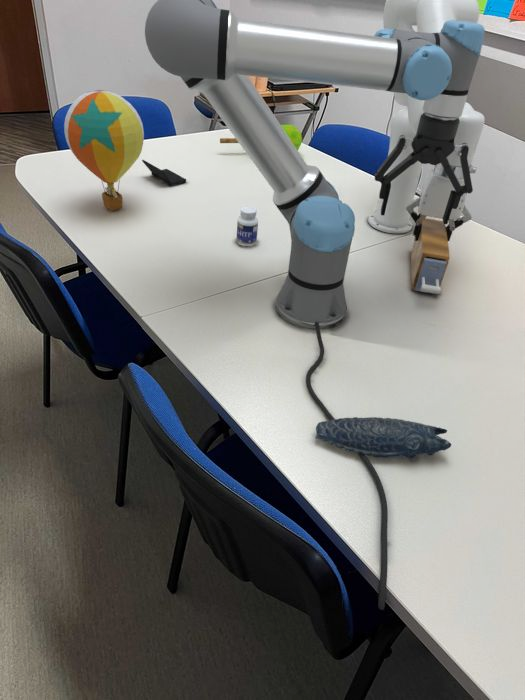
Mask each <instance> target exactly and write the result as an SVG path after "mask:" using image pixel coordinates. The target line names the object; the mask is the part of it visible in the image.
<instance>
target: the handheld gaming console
mask: <svg viewBox="0 0 525 700" xmlns="http://www.w3.org/2000/svg"><path fill="white" fill-rule="evenodd" d="M141 161H142V163H143V164H144V165H145V167H147V169H148V170H149V171H150V172H151V174H150V175H151V176H153V177H155V178H156V179H158V180H160V181H162V182H163V183H165V184H167V185H168V186H170V187H172V186H177V185H180V184H184V183H185V184H186V183H187V179H186V178H184V177H183V176H181V175H179V174H177V173H175V172H173V171H172V170H170V169H168V168H164V169H161V168H159V167H157V166H155V165H153V164H151V163H150V162H148V161H146V160H145V159H142V160H141Z"/></svg>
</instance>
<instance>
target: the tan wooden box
mask: <svg viewBox="0 0 525 700" xmlns="http://www.w3.org/2000/svg"><path fill="white" fill-rule="evenodd" d="M446 226H447V224H444V223H443V220H439V219H438V220H437V219H431V218H427V217H426V218H425V219H424V220H423V222H422V228H421V232H420V235H419V239H418V240H417V241H415V239H414V241H413V244H412V248H411V251H410V257H411V258H410V269H411V270H410V271H411V272H410V275H411V276H410V277H411V279H410V280H411V291H415V287H416V284H417V280H418V277H419V274H420V270H421V267H422V264H423V261H424V258H425V257H426V256H427V257H433V258H439V259H442V261H446V267H445V270H444V273H443V276H442V279H441V282H440V285H439V287H441V285H442V282H443V279H444V276H445V273H446V270H447V267H448V264H449V261H450V258H451V254H450V247H449V241H448V239H447V232H446Z"/></svg>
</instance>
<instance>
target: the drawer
mask: <svg viewBox="0 0 525 700" xmlns="http://www.w3.org/2000/svg"><path fill="white" fill-rule="evenodd" d="M445 267H446V261H442V259H439V258H433V257H427V256H426V257H425V258H424V261H423V264H422V267H421V270H420V274H419V277H418V280H417V284H416V287H415V290H414V291H415V292H421V293H427V294H433V295H440V294H441V291H442V287H441V285H440V282H441V279H442V276H443V273H444V270H445ZM445 271H446V270H445ZM444 274H445V273H444ZM443 277H444V276H443ZM442 280H443V279H442ZM441 283H442V282H441ZM439 285H440V287H439Z"/></svg>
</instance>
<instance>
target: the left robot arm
mask: <svg viewBox="0 0 525 700" xmlns="http://www.w3.org/2000/svg"><path fill="white" fill-rule="evenodd" d="M414 31H415V30H414ZM414 31H404V30H396V29H392V30H389V29H384V28H382V29H379V30H377V31H376V32H375V34H374V35H368V34H361V33H351V32H344V31H336V30H327V29H320V28H311V27H304V26H297V25H295V26H294V25H289V24H288V25H287V24H279V23H272V22H262V21H256V20H255V21H254V20H249V19H248V20H246V19H239V18H238V17H237V16H236V15H235V13H234V11H233V10H232V9H231V10H230V9H223V8H218V7H217V5H216V4H215V2H214V1H213V0H157V1H156V2H154V3H153V5H152V6H151V7H150V10H149V11H148V13H147V16H146V19H145V25H144V37H145V43H146V46H147V49H148V52H149V53H150V56H151V57H152V59H153V60H154V61H155V63H156V65H158V66H159V67H160V68H161V69H162V70H164V71H166V72H167V73H169V74H171V75H173V76H176V77H180V79H181V80H182V82H183V83H184V84H185V85H186V86H187V88H188V89H189V90H191V91H197V92H200V93H202V95H204V97H205V98H206V99H207V101H208V102H209V104H210V105H211V107H212V109H214V111H215V113H216V114H217V115H218V117H219V118H220V119H221V120H222V122H223V123H224V124H225V126H226V127H227V129H229V132H230V133H231V134H232V135H233V138H236V139H237V141H238V142H239V143H238V144H239V145H240V146H241V147H242V149H243V151H244V152H245V154H246V155H247V156H248V157H249V159H250V160H251V161H252V163H253V164H254V166H255V167H256V168H257V170H258V171H259V173H261V175H262V177H263V178H264V180H265V181H266V182H267V183H268V185H269V187H270V188H271V189H272V190H273V195H272V202H273V204H274V205H275V207H276V208H277V209H278V211H279V212H280V213H281V215H282V216H283V218H284V219H285V220H286V222H287V224H288V225H289V233H290V242H291V243H290V255H289V262H288V263H289V264H288V270H287V271H288V272H287V275H286V278H285V279H284V282H283V283H282V285H281V287H280V290H279V291H278V294H277V296H276V300H275V311H276V313H277V315H278V316H279V317H280V318H281V319H282V320H283V321H284V322H286V323H287V324H289V325H291V326H293V327H296V328H300V329H304V330H310V331H315V332H316V333H315V334H316V340H317V343H318V347H319V355H318V358H317V360H316V361H315V362H314V363H313V364H312V365H311V366H310V368H309V369H308V371H307V373H306V375H305V386H306V389H307V391H308V393H309V395H310V397H311V398H312V400H313V401H314V402H315V404H316V405H317V406H318V408H319V409H320V410H321V412H322V413H323V414H324V416H325V417H326V418H327V420H328V421H330V420H334V419H335V417H334V416H333V415H332V414H331V413H330V411H329V410H328V409H327V407H326V406H325V404H324V403H323V402H322V401H321V399H320V398H319V397H318V395H317V394H316V393H315V391H314V389H313V386H312V381H311V378H312V375H313V373H314V371H315V370H316V369H317V368H318V367H319V366H320V364H321V363H322V362H323V359H324V356H325V347H324V342H323V339H322V333H321V331H324V330H325V331H326V330H329V329H333V328H336V327H337V326H339V325H340V324H342V323H343V322H344V320H345V318H346V315H347V310H348V305H347V297H346V292H345V286H344V280H345V275H346V271H347V267H348V261H349V257H350V251H351V246H352V241H353V237H354V235H355V230H356V229H355V228H356V225H355V224H356V216H355V212H354V211H353V209H352V208H351V206H350V205H349V204H347V203H346V202H343V201H342V200H340V196H339V194H338V191H337V190H336V188H335V186H334V185H333V184H332V183H330V181H328V180H327V179H326V178H325V176H324V174H323V173H322V171H321V170H320V169H319V167H318V166H316V165H308V164H307V163H306V161H305V160H304V158H303V156H302V155H301V154H300V152H299V150H298V151H297V149H296V148H295V146H294V145H293V143H292V142H291V140H290V139H289V137H288V135H287V134H286V132H285V131H284V129H283V128H282V126H281V125H282V124H281V123H280V122H279V120H278V119H277V117H276V116H275V114H274V113H273V111H272V110H271V108H270V106H269V105H268V104H267V103H266V101H265V99H264V97H263V96H262V95H261V94H260V92H259V91H258V89H257V87H256V85H255V84H254V83H253V81H252V80H251V78H250V77H256V78H257V77H258V78H266V79H274V80H285V81H294V82H302V83H310V84H312V83H313V84H322V85H328V86H329V85H331V86H339V87H346V88H347V87H348V88H358V89H367V90H375V91H385V92H391V93H394V92H397V93H406V94H407V95H409V96H410V97H412V98H415V99H418V100H425V101H424V105H423V111H424V113H423V114H422V115H421V117H420V121H419V125H418V129H417V133H416V136H415V137H414V139H410V138H406V137H405V136H404V135H401V136H400V137H399V140H398V142H397V145H396V147H395V148H394V149H393V151H392V152H391V153H390V155H389V156H388V155H387V157H386V158H385V160H384V161H383V162H382V163H381V165H380V166H379V167H378V169H377V170H376V171H375V173H374V181H375V182H378V183H380V189H379V195H378V198H379V197H380V199H383V203H382V207H381V215H385V210H386V206H387V202H388V197H389V193H390V189H391V181H392V180H394V179H395V178H396V177H397V176H399V175H400V174H401V173H402V172H404V171H405V170H406V169H407V168H409V167H410V166H411V165H413V164H415V163H416V162H417V161H419V162H421V164H422V165H427V164H429V165H432V166H435V165H437V164H440V163H441V164H442V166H443V168H444V169H445V171H446V173H447V175H448V177H449V179H450V181H451V183H452V185H453V187H454V189H455V191H453V190H451V193H450V196H449V199H448V203H447V206H446V209H445V212H444V216H443V219H442V221H443V223H444V224H446V225H448V224H449V217H450V214H451V211H452V209H457V207H458V204H459V202H460V198H461V196H463V194H464V193H467V194H471V193H473V191H474V190H473V184H472V178H471V177H472V176H471V173H470V172H469V166H468V160H467V156H468V151H469V148H468V145H467V143H462V144H454V140H455V136H456V133H457V129H458V126H459V123H460V120H459V118H458V117H460V116H462V113H463V109H464V105H465V102H467V99H468V95H469V91H470V88H471V87H470V86H471V84H472V80H473V77H474V74H475V72H476V68H477V65H478V61H479V58H480V57H481V51H482V48H483V44H484V38H485V33H486V30H485V27H484V25H482V24H481V23H478V22H477V23H474V22H468V21H458V20H455V21H453V20H448V21H446V22H445V23H444V25H443V28H442V29H441V32H440V33H425V32H418V31H415V32H414ZM409 145H412V148H413V152H412V153H411V154H410V155H409V156H408V157H407V158H406V159H404V160H403V161H402V162H401V163H400V164H398V165H397V166H396V167H395V168H393V169H392V170H391V171H390V172H389V173H387V174H386V175H385V176H384V174H385V173H386V172H387V170H388V169H389V168H390V166H391V165H392V164H393V163H394V161H395V160H396V159H397V157H398V156H399V155H400V153H401V152H402V150H403V149H406V148H407V147H408V146H409ZM453 151H456V153H457V155H458V156H460V162H461V168H462V173H463V178H464V184H465V185H464V186H461V185H460V183H459V181H458V179H457V177H456V175H455V173H454V171H453V169H452V167H451V165H450V163H449V161H448V159H447V157H448V156H449V155H450V154H451V153H452V152H453ZM357 455H358V457H359V458H360V459H361V461H362V462H363V463H364V465H365V467H366V468H367V470H368V471H369V473H370V474H371V476H372V478H373V480H374V483H375V485H376V487H377V490H378V494H379V499H380V506H381V523H380V572H379V574H380V575H379V587H378V599H377V607H378V609H379V610H381V611H383V610H384V609H385V607H386V598H387V597H386V596H387V586H388V585H387V584H388V522H389V521H388V520H389V519H388V517H389V516H388V513H389V511H388V501H387V496H386V493H385V489H384V486H383V483H382V481H381V479H380V476H379V474H378V472H377V470H376V469H375V467H374V466H373V464H372V462H371V461H370V459H369V458H368V456H367V455H363V454H362V453H357Z"/></svg>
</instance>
